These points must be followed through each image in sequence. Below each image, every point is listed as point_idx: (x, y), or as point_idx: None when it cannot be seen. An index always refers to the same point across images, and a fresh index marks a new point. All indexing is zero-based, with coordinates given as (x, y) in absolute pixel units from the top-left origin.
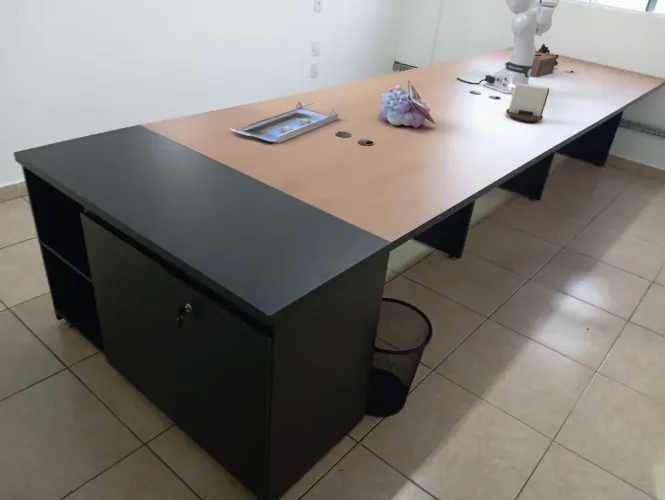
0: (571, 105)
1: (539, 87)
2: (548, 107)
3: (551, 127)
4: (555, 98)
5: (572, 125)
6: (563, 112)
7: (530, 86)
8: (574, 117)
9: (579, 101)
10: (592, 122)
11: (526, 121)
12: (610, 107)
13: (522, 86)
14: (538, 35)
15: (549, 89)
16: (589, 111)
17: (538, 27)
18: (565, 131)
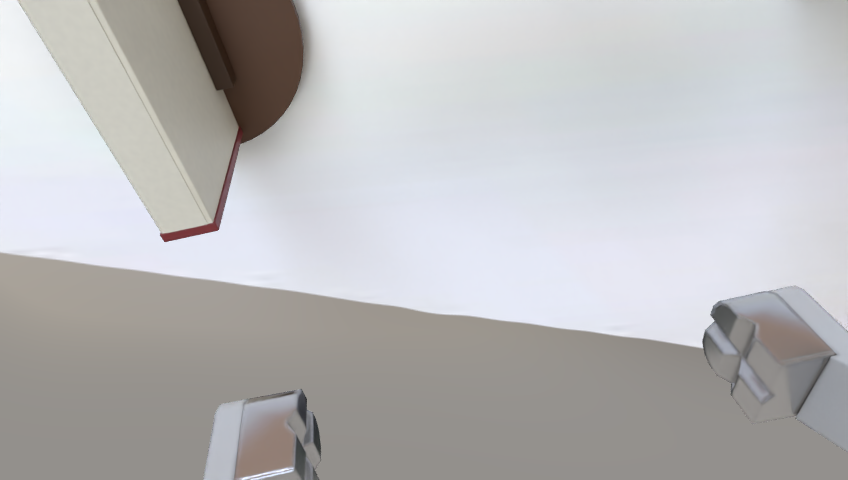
0: (668, 222)
1: (144, 179)
2: (564, 136)
3: None
4: (777, 149)
5: (298, 257)
6: (509, 206)
7: (92, 113)
8: (451, 251)
9: (759, 241)
10: (423, 308)
11: None
12: None
13: (49, 42)
14: (223, 414)
15: (164, 241)
16: (600, 285)
17: (838, 402)
18: (157, 244)
